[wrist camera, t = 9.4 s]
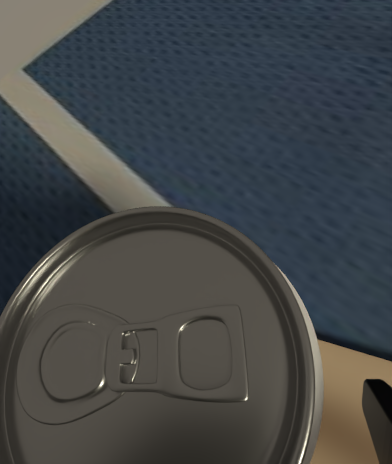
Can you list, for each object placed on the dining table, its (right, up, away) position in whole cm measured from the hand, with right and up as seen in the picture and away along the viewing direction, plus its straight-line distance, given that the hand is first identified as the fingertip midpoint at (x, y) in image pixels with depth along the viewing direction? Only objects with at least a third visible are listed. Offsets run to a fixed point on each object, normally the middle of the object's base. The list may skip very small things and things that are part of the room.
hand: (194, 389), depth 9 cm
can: (+1, -3, +7) cm, 8 cm away
